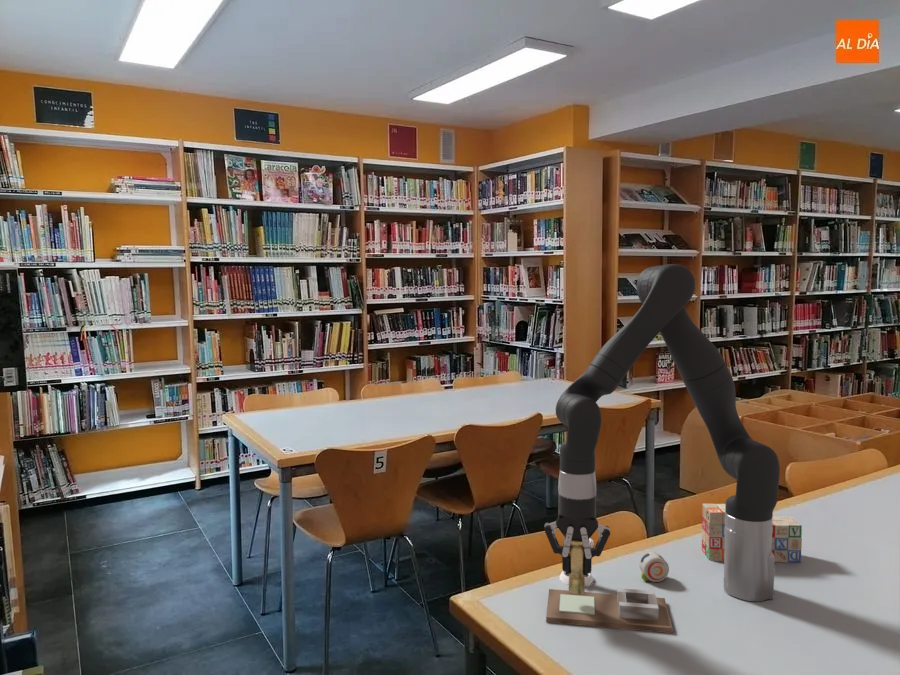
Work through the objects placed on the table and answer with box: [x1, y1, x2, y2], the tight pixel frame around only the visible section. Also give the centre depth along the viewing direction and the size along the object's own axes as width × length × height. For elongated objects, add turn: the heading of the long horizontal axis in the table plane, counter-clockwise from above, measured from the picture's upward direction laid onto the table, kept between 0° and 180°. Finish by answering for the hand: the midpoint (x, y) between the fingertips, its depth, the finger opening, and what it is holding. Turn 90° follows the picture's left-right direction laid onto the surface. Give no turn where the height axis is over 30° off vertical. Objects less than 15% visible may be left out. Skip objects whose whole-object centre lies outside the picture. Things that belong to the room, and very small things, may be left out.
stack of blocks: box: [701, 503, 803, 564], centre depth 158 cm, size 21×6×12 cm, turn 84°
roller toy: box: [638, 551, 670, 583], centre depth 147 cm, size 4×6×6 cm
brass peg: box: [568, 540, 586, 594], centre depth 133 cm, size 4×4×11 cm
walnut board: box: [545, 587, 673, 634], centre depth 133 cm, size 24×12×4 cm, turn 79°
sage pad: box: [559, 594, 595, 615], centre depth 134 cm, size 7×7×1 cm
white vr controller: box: [559, 537, 595, 587], centre depth 147 cm, size 8×12×7 cm
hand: (576, 573), depth 133 cm, fingers closed on brass peg, 3 cm apart
